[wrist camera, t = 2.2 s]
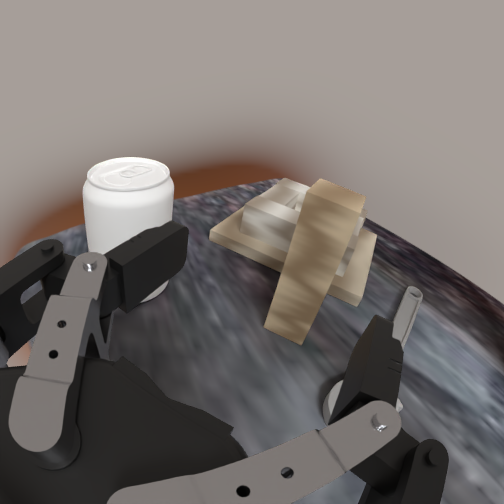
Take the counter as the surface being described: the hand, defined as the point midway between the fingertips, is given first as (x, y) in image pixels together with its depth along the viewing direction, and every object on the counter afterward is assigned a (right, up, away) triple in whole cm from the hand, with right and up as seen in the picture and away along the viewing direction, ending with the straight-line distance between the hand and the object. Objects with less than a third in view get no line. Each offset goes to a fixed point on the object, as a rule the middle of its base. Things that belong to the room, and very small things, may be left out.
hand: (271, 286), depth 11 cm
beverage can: (-13, -2, +18) cm, 23 cm away
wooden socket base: (+7, +3, +31) cm, 32 cm away
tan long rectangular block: (+3, -6, +18) cm, 19 cm away
